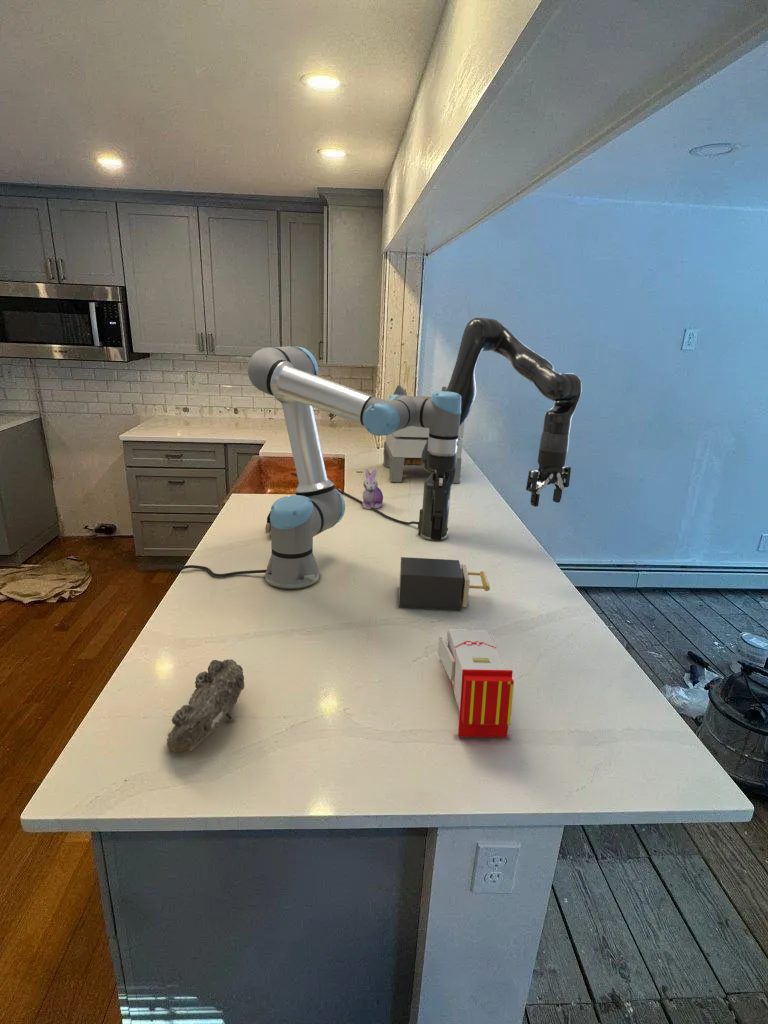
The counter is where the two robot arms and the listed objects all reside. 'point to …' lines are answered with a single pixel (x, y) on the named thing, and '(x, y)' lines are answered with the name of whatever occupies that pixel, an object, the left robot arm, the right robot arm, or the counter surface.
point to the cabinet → (430, 584)
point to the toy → (478, 682)
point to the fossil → (206, 705)
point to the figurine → (372, 491)
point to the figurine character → (268, 524)
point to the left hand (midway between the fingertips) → (435, 529)
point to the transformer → (412, 447)
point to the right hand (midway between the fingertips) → (545, 503)
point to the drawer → (466, 585)
